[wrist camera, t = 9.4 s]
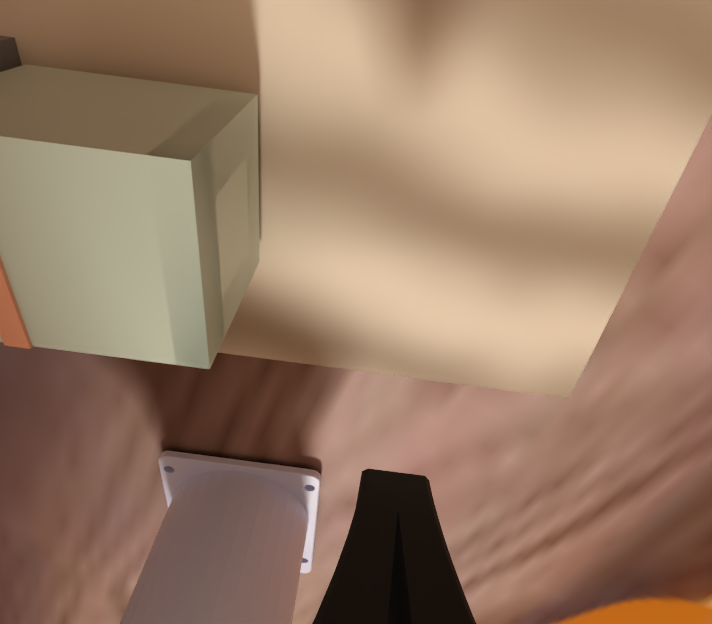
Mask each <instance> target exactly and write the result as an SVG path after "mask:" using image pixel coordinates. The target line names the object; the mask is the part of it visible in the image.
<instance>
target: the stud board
mask: <svg viewBox="0 0 712 624" xmlns="http://www.w3.org/2000/svg"><path fill="white" fill-rule="evenodd" d="M25 64H28V65H35V66H43V67H51V68H59V69H66V70H74V71H82V72H89V73H97V74H105V75H113V76H120V77H128V78H136V79H144V80H151V81H159V82H167V83H174V84H182V85H190V86H198V87H205V88H213V89H221V90H229V91H236V92H244V93H252V94H258V175H259V264H258V266H257V268H256V271H255V273H254V275H253V277H252V279H251V281H250V284H249V286H248V288H247V290H246V292H245V294H244V296H243V299H242V301H241V303H240V305H239V307H238V309H237V312H236V314H235V316H234V318H233V320H232V322H231V325H230V327H229V329H228V331H227V333H226V335H225V337H224V340H223V342H222V344H221V346H220V348H219V350H218V353H225V354H233V355H241V356H248V357H256V358H264V359H271V360H279V361H287V362H294V363H302V364H309V365H317V366H325V367H332V368H340V369H348V370H355V371H363V372H370V373H378V374H386V375H393V376H401V377H409V378H416V379H424V380H431V381H439V382H447V383H454V384H462V385H470V386H477V387H485V388H492V389H500V390H508V391H515V392H523V393H531V394H538V395H546V396H554V397H561V398H570V396H571V394H572V392H573V390H574V388H575V386H576V384H577V382H578V380H579V378H580V376H581V374H582V372H583V370H584V368H585V366H586V364H587V362H588V360H589V358H590V356H591V354H592V352H593V350H594V348H595V346H596V344H597V342H598V340H599V338H600V336H601V334H602V332H603V330H604V328H605V326H606V324H607V322H608V320H609V318H610V316H611V314H612V312H613V310H614V308H615V306H616V304H617V302H618V300H619V298H620V296H621V294H622V292H623V290H624V288H625V286H626V284H627V282H628V280H629V278H630V276H631V274H632V272H633V270H634V268H635V266H636V264H637V262H638V260H639V258H640V256H641V254H642V252H643V250H644V248H645V246H646V244H647V242H648V240H649V238H650V236H651V234H652V232H653V230H654V228H655V226H656V224H657V222H658V220H659V218H660V216H661V214H662V212H663V210H664V208H665V206H666V204H667V202H668V200H669V198H670V197H671V195H672V193H673V191H674V189H675V187H676V185H677V183H678V181H679V179H680V177H681V175H682V173H683V171H684V169H685V167H686V165H687V163H688V161H689V159H690V157H691V155H692V153H693V151H694V149H695V147H696V145H697V143H698V141H699V139H700V137H701V135H702V133H703V131H704V129H705V127H706V125H707V123H708V121H709V119H710V117H711V115H712V0H0V72H3V71H6V70H9V69H12V68H16V67H19V66H22V65H25Z"/></svg>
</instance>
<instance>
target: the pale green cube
mask: <svg viewBox="0 0 712 624" xmlns="http://www.w3.org/2000/svg"><path fill="white" fill-rule="evenodd" d="M258 264H259V175H258V94H252V93H244V92H236V91H229V90H221V89H213V88H205V87H198V86H190V85H182V84H174V83H167V82H159V81H151V80H144V79H136V78H128V77H120V76H113V75H105V74H97V73H89V72H82V71H74V70H66V69H59V68H51V67H43V66H35V65H28V64H25V65H22V66H19V67H16V68H12V69H9V70H6V71H3V72H0V342H3V343H4V345H5V346H12V347H20V348H28V349H30V348H31V347H32V346H36V347H43V348H51V349H59V350H66V351H74V352H81V353H89V354H97V355H104V356H112V357H120V358H127V359H135V360H142V361H150V362H158V363H165V364H173V365H181V366H188V367H196V368H203V369H210V368H211V366H212V363H213V361H214V359H215V357H216V355H217V353H218V350H219V348H220V346H221V344H222V342H223V340H224V337H225V335H226V333H227V331H228V329H229V327H230V325H231V322H232V320H233V318H234V316H235V314H236V312H237V309H238V307H239V305H240V303H241V301H242V299H243V296H244V294H245V292H246V290H247V288H248V286H249V284H250V281H251V279H252V277H253V275H254V273H255V271H256V268H257V266H258Z"/></svg>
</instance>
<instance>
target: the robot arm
mask: <svg viewBox="0 0 712 624" xmlns="http://www.w3.org/2000/svg"><path fill="white" fill-rule="evenodd" d="M158 462H159V467H160V472H161V477H162V482H163V486H164V491H165V496H166V501H167V506H168V510H167V513H166V515H165V518H164V520H163V522H162V525H161V527H160V529H159V532H158V534H157V536H156V539H155V541H154V544H153V546H152V548H151V551H150V553H149V555H148V558H147V560H146V563H145V565H144V567H143V570H142V572H141V574H140V577H139V579H138V581H137V584H136V586H135V589H134V591H133V593H132V596H131V598H130V600H129V603H128V605H127V608H126V610H125V612H124V615H123V617H122V619H121V622H120V624H292V618H293V612H294V606H295V600H296V594H297V588H298V582H299V576H300V573H308V572H310V571H311V569H312V562H313V552H314V542H315V533H316V523H317V513H318V503H319V494H320V484H321V475H320V473H319V472H317V471H316V470H312V469H305V468H297V467H290V466H282V465H275V464H267V463H259V462H252V461H244V460H237V459H229V458H221V457H214V456H206V455H199V454H191V453H183V452H176V451H164V452H162V453H161V455H160V457H159V460H158ZM313 624H476V622H475V620H474V617H473V615H472V613H471V610H470V608H469V605H468V603H467V600H466V597H465V595H464V592H463V590H462V587H461V584H460V581H459V579H458V576H457V573H456V571H455V568H454V565H453V562H452V560H451V557H450V554H449V551H448V548H447V545H446V542H445V539H444V535H443V532H442V529H441V526H440V523H439V519H438V516H437V512H436V508H435V505H434V501H433V497H432V492H431V488H430V483H429V480H428V479H427V478H426V477H425V476H421V475H413V474H405V473H397V472H390V471H382V470H374V469H366V470H364V471H362V475H361V481H360V487H359V492H358V498H357V504H356V509H355V513H354V517H353V520H352V523H351V527H350V530H349V533H348V536H347V539H346V542H345V545H344V547H343V550H342V553H341V556H340V559H339V561H338V564H337V567H336V569H335V572H334V575H333V577H332V579H331V582H330V584H329V587H328V589H327V591H326V594H325V596H324V598H323V601H322V603H321V605H320V608H319V610H318V613H317V615H316V617H315V619H314V622H313Z"/></svg>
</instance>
